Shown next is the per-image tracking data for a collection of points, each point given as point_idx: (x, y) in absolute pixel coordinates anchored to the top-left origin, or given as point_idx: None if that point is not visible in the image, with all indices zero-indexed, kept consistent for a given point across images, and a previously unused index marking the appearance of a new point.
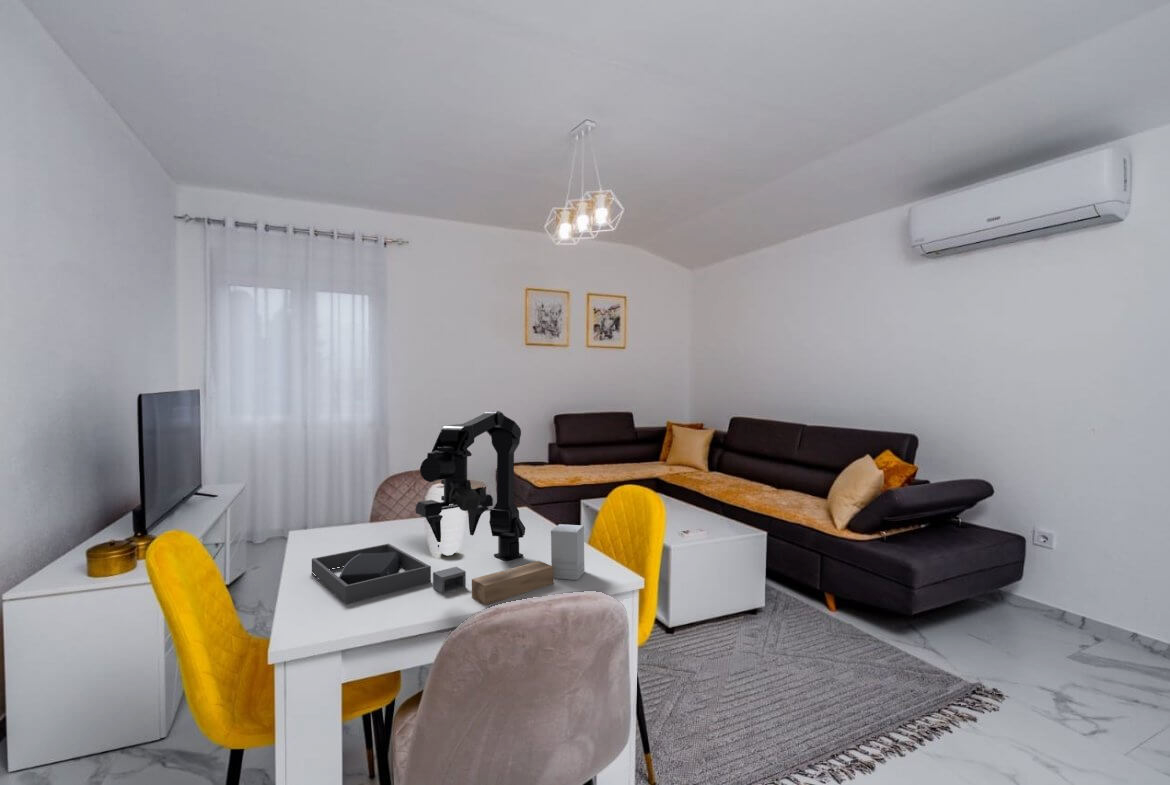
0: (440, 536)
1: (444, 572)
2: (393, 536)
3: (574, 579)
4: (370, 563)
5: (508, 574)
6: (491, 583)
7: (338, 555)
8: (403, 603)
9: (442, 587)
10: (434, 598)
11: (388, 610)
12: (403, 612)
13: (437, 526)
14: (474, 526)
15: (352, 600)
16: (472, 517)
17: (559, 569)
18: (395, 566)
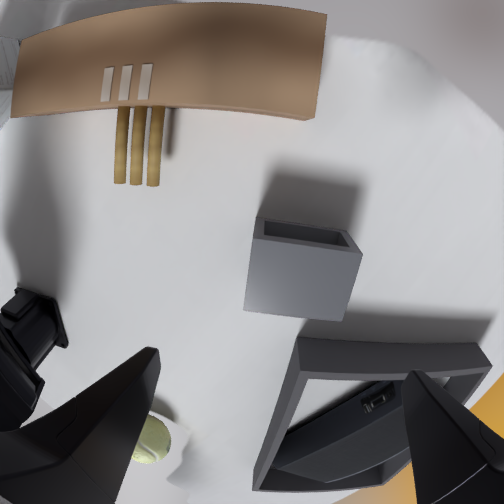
0: (432, 390)
1: (317, 292)
2: (192, 495)
3: (18, 43)
4: (368, 447)
5: (160, 46)
6: (288, 12)
7: (347, 486)
8: (443, 258)
9: (350, 239)
10: (383, 220)
11: (481, 248)
12: (477, 207)
13: (489, 438)
14: (119, 386)
15: (469, 345)
16: (100, 463)
17: (9, 69)
18: (314, 432)
